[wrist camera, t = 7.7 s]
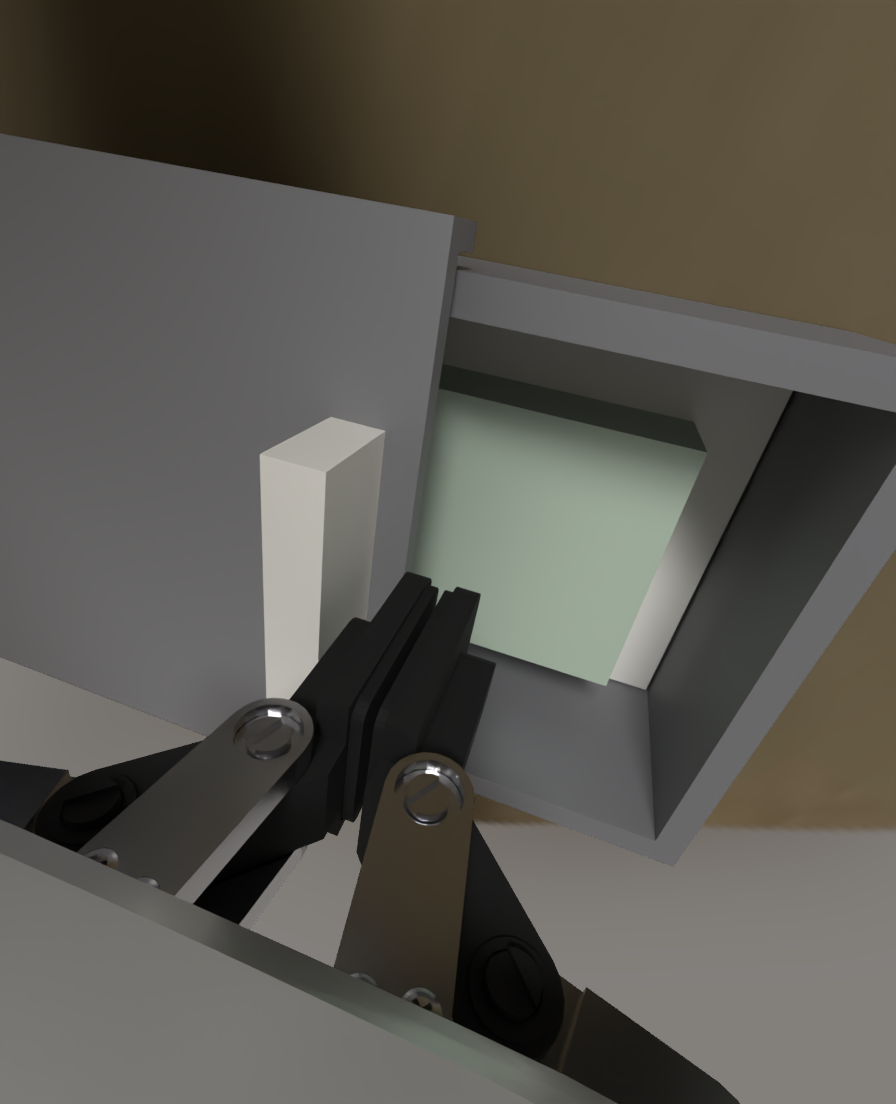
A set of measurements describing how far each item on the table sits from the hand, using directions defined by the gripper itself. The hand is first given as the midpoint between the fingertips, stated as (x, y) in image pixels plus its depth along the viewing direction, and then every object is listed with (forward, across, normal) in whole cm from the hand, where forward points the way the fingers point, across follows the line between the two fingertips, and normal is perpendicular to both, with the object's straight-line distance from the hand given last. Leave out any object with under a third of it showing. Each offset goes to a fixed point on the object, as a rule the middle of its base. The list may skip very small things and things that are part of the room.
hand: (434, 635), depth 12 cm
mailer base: (+9, +1, 0) cm, 9 cm away
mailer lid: (+2, +10, 0) cm, 11 cm away
